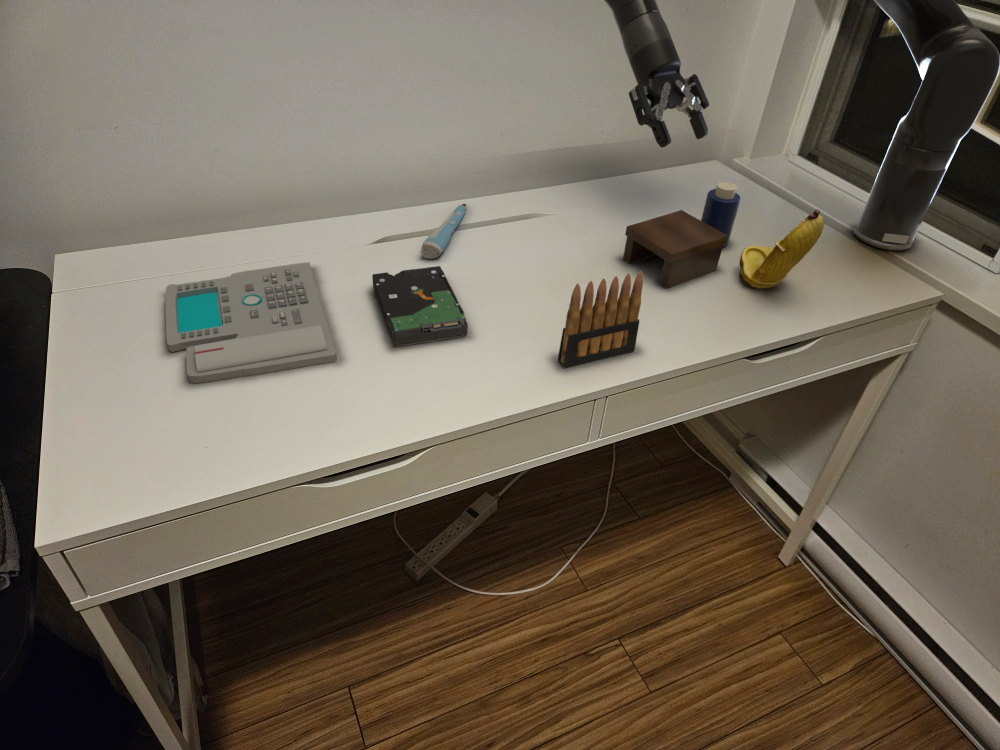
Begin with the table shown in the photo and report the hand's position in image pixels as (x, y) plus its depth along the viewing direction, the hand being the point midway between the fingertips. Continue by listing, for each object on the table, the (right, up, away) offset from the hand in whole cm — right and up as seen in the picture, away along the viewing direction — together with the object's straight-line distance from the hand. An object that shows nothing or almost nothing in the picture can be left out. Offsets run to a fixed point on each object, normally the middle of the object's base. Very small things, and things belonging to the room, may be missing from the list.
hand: (685, 141), depth 115 cm
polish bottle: (+5, -16, +2) cm, 17 cm away
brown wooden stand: (-4, -21, -5) cm, 22 cm away
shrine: (+10, -25, -8) cm, 28 cm away
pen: (-40, -16, 0) cm, 43 cm away
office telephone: (-65, -32, -22) cm, 76 cm away
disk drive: (-42, -30, -18) cm, 55 cm away
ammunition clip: (-18, -37, -24) cm, 47 cm away
